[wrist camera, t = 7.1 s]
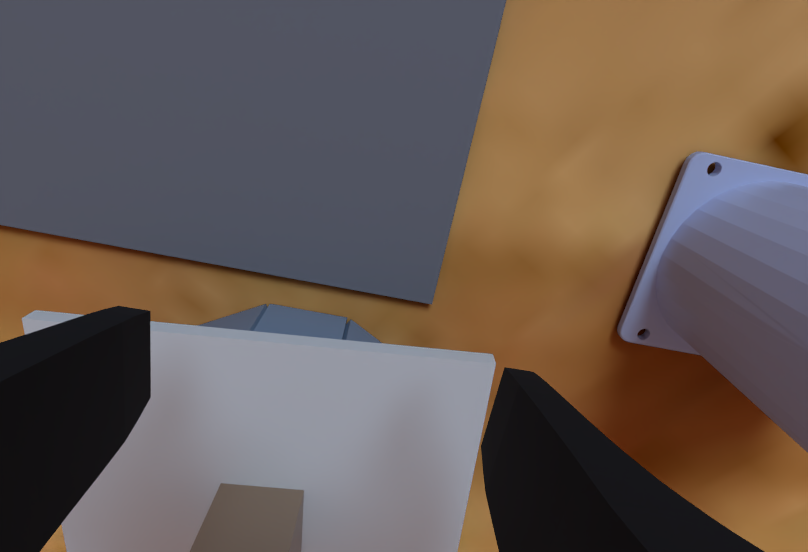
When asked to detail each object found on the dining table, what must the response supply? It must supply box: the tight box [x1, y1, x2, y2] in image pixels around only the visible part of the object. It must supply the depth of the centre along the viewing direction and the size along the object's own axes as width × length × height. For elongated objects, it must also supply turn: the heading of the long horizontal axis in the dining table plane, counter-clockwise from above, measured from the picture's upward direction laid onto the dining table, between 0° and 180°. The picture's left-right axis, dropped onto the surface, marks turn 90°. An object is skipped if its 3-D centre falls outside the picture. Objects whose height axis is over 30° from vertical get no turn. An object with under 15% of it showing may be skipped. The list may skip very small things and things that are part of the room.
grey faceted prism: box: [198, 304, 381, 343], centre depth 21 cm, size 13×13×4 cm
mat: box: [0, 0, 506, 304], centre depth 17 cm, size 18×18×1 cm
